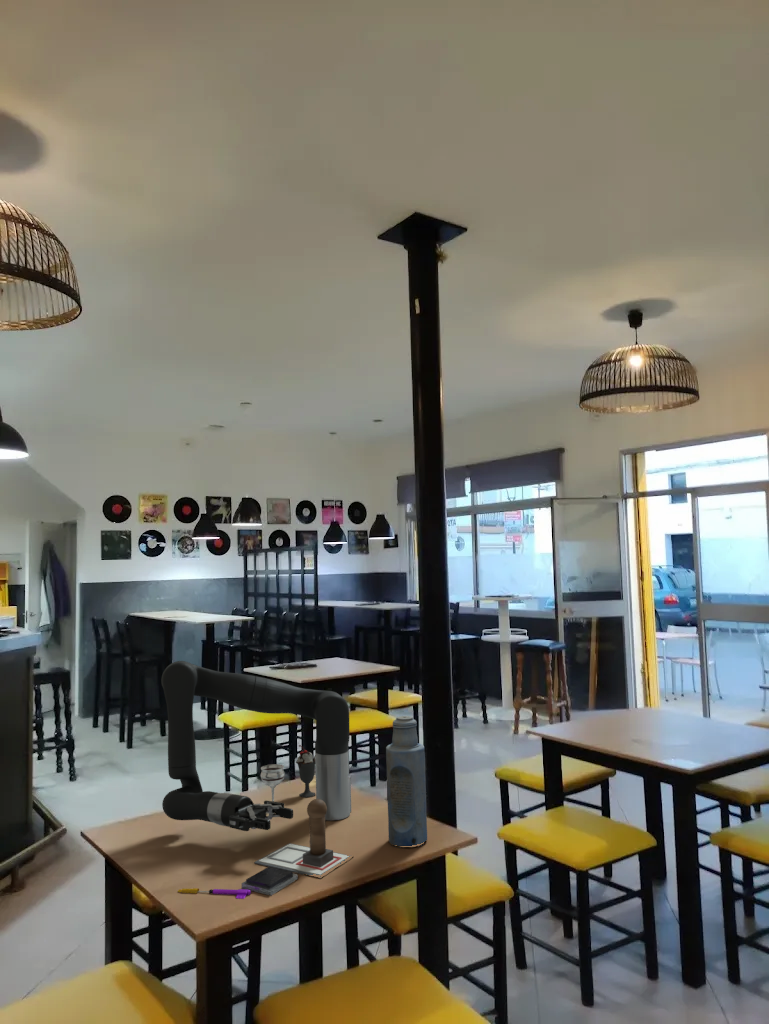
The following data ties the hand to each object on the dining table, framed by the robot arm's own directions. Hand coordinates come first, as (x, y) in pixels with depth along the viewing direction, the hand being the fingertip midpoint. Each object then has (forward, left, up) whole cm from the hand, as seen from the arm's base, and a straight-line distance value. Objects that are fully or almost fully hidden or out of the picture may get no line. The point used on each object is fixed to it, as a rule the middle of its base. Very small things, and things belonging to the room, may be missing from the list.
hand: (281, 819), depth 169 cm
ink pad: (+14, +8, -8) cm, 18 cm away
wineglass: (-25, -23, -8) cm, 35 cm away
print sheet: (0, +7, -8) cm, 11 cm away
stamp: (0, +11, -8) cm, 13 cm away
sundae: (-41, -23, -8) cm, 48 cm away
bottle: (-21, +23, -8) cm, 32 cm away
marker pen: (+23, 0, -9) cm, 25 cm away
